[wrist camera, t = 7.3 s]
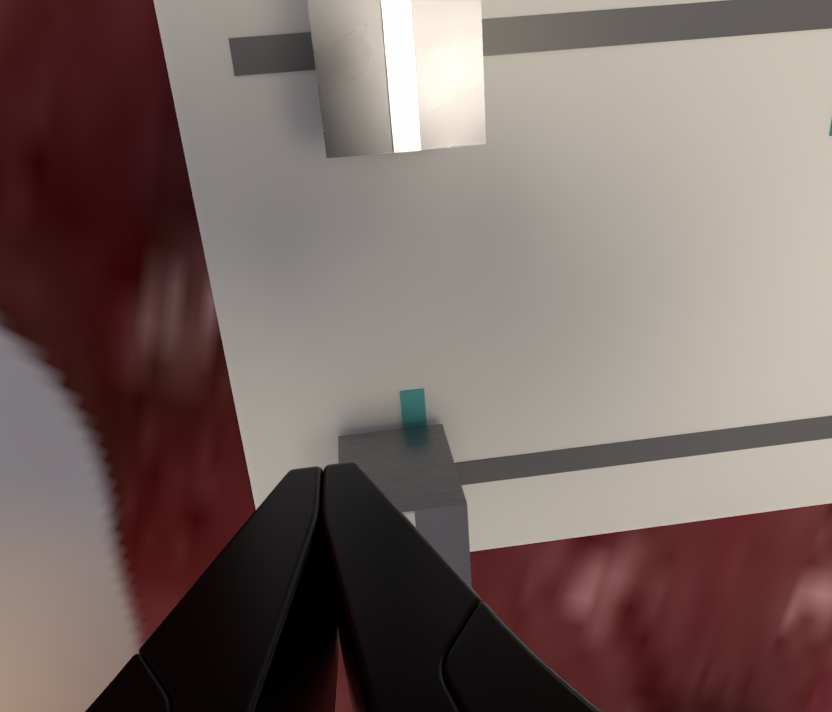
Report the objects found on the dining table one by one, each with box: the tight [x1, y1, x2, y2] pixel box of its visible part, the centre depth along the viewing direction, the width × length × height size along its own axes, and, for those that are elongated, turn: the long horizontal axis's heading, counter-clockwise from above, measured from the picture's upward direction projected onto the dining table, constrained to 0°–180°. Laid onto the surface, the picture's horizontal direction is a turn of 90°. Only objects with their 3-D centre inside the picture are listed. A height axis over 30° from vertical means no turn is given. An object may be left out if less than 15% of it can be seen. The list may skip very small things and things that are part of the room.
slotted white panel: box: [153, 0, 832, 552], centre depth 19 cm, size 18×22×2 cm
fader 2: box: [338, 424, 472, 588], centre depth 18 cm, size 4×3×4 cm
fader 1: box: [307, 0, 486, 158], centre depth 13 cm, size 4×3×4 cm
